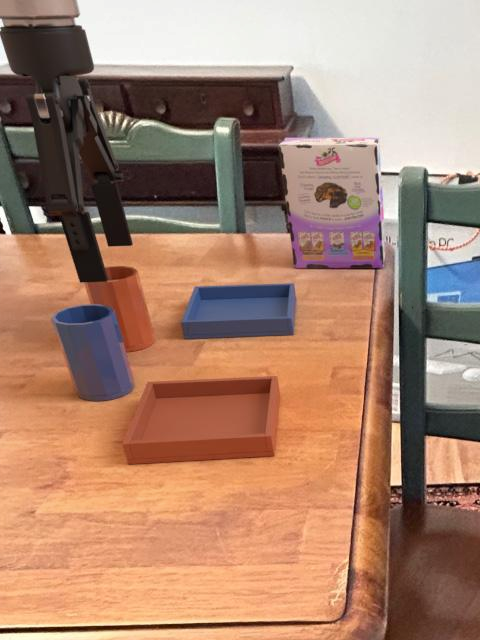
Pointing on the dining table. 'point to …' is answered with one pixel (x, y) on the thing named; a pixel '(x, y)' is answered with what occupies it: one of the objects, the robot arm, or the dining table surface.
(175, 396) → the terracotta tray
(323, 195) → the candy box
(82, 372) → the blue cup
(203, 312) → the blue tray
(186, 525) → the dining table surface
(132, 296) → the terracotta cup
